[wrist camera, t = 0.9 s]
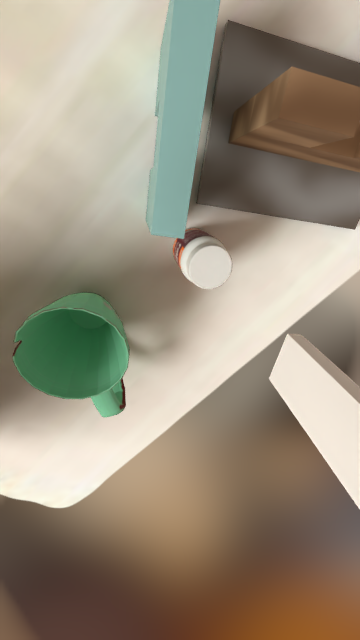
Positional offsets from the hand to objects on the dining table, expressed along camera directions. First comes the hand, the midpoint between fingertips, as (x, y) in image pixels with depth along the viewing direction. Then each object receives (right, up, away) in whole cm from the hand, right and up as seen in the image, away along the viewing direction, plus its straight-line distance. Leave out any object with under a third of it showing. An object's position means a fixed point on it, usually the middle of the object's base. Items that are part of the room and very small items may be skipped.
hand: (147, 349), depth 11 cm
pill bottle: (+3, +10, +19) cm, 21 cm away
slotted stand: (+14, +20, +16) cm, 29 cm away
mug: (-9, 0, +22) cm, 23 cm away
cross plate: (0, +18, +14) cm, 23 cm away
